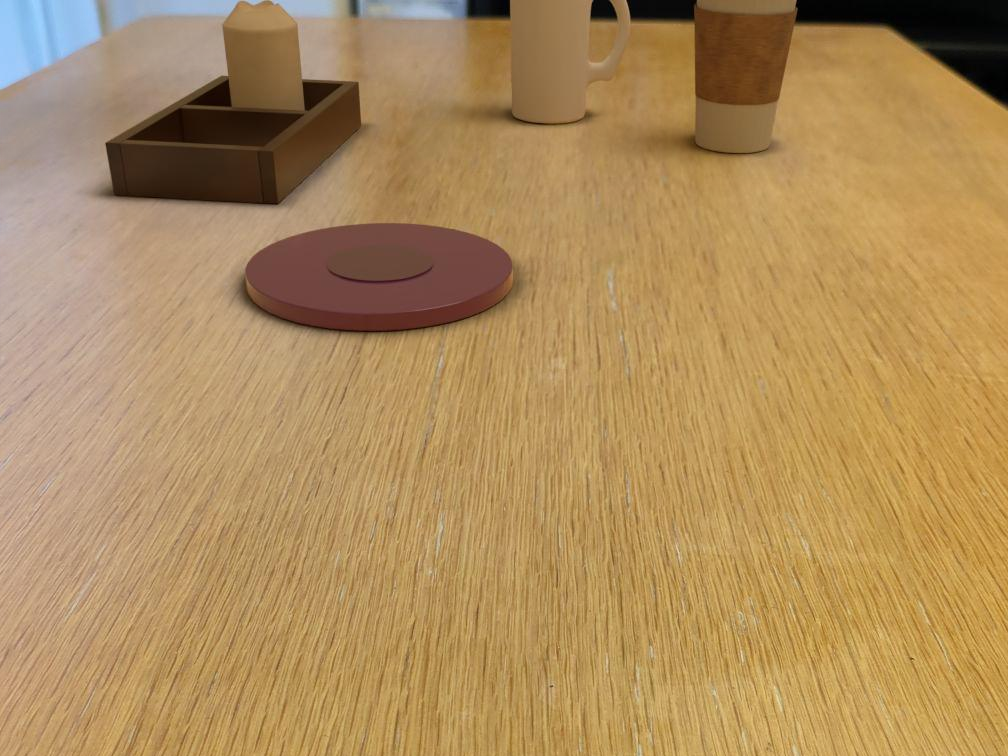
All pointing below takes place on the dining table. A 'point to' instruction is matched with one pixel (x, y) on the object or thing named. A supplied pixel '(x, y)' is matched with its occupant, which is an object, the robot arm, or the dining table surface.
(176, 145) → the divided wooden tray
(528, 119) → the mug
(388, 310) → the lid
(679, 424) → the dining table surface
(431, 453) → the dining table surface
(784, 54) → the coffee cup
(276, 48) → the candle
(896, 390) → the dining table surface
